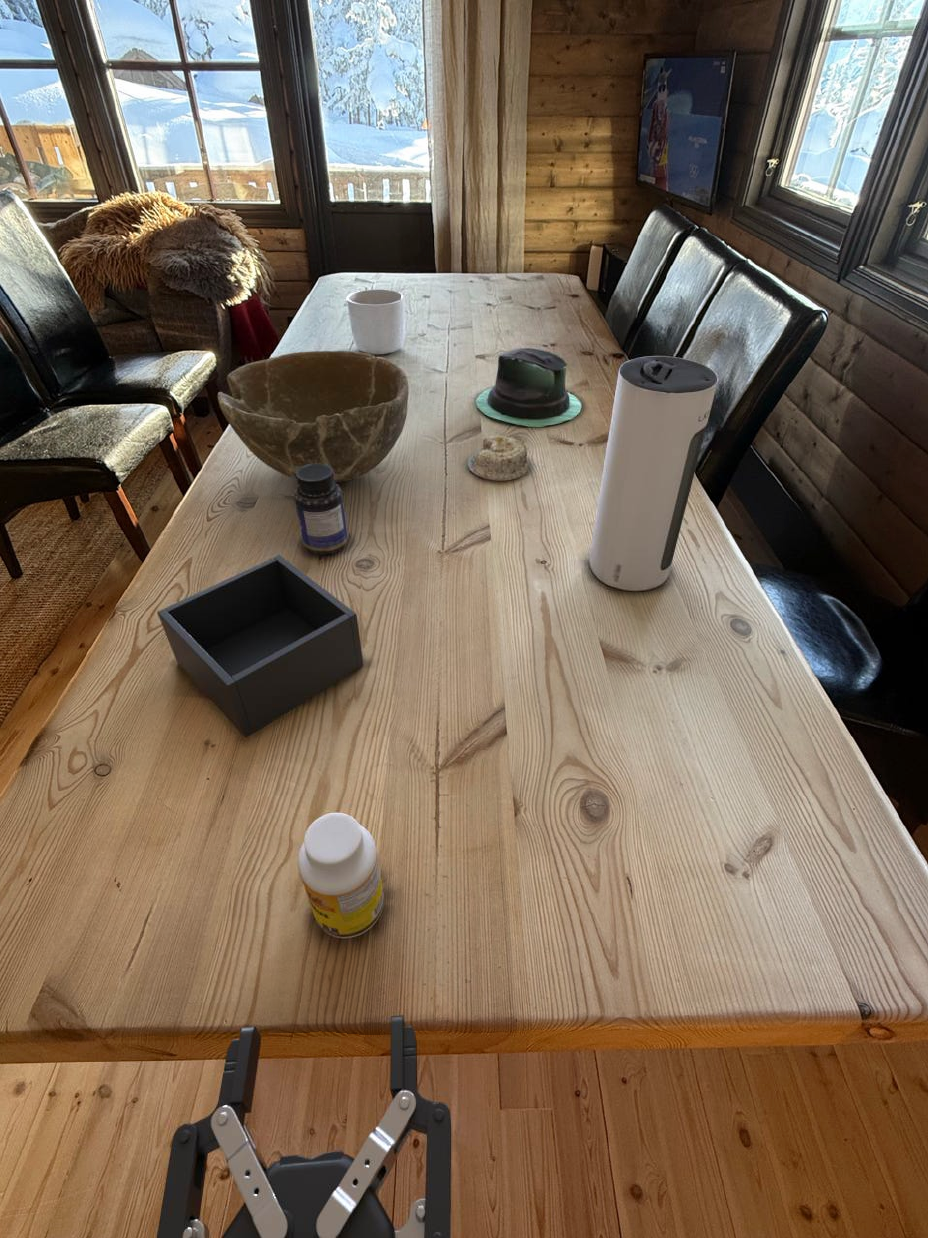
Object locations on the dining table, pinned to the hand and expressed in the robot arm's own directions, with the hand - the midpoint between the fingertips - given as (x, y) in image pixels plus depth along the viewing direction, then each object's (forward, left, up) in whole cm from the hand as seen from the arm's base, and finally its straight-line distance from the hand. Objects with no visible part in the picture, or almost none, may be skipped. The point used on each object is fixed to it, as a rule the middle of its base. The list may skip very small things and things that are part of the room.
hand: (325, 1025), depth 39 cm
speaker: (+60, +19, -8) cm, 64 cm away
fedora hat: (+90, +63, -8) cm, 110 cm away
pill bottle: (+35, +51, -8) cm, 63 cm away
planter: (+89, +107, -8) cm, 140 cm away
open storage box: (+17, +36, -8) cm, 41 cm away
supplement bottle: (+7, +8, -8) cm, 14 cm away
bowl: (+47, +68, -8) cm, 83 cm away
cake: (+68, +50, -8) cm, 85 cm away
